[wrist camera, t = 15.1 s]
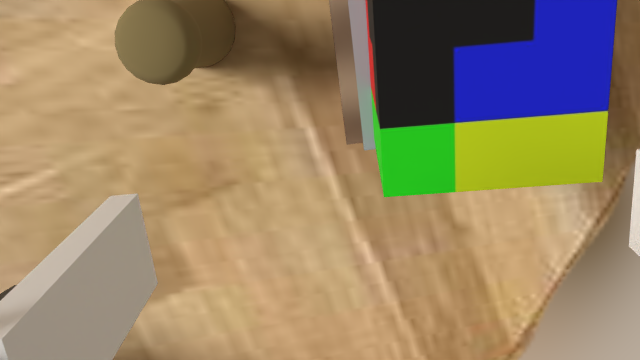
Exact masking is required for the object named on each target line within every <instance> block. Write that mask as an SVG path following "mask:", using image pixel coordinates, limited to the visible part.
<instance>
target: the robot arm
mask: <svg viewBox="0 0 640 360" xmlns="http://www.w3.org/2000/svg"><path fill="white" fill-rule="evenodd" d="M629 247H630V248H631V249H632V250H633V251H635V252H636V253H637V254H638V255H639V256H640V149H637V151H636V163H635V176H634V188H633V201H632V213H631V227H630V238H629ZM157 284H158V282H157V278H156V273H155V269H154V264H153V260H152V255H151V251H150V246H149V242H148V237H147V233H146V228H145V224H144V219H143V215H142V211H141V206H140V202H139V197H138V194H128V195H117V196H110V197H109V198H108V199H107V200H106V201H105V202H104V203H102V204H101V205H100V206H99V207H98V208H97V209H96V210H95V211H94V212H93V213H92V214H91V215H90V216H89V217H88V218H87V219H86V220H85V221H84V222H83V223H81V224H80V225H79V226H78V227H77V228H76V229H75V230H74V231H73V232H72V233H71V234H70V235H69V236H68V237H67V238H66V239H65V240H64V241H63V242H62V243H60V244H59V245H58V246H57V247H56V248H55V249H54V250H53V251H52V252H51V253H50V254H49V255H48V256H47V257H46V258H45V259H44V260H43V261H42V262H41V263H39V264H38V265H37V266H36V267H35V268H34V269H33V270H32V271H31V272H30V273H29V274H28V275H27V276H26V277H25V278H24V279H23V280H22V281H21V282H20V283H18V284H17V285H14V286H13V287H11V288H9V289H8V290H6V291H4V292H2V293H1V294H0V360H113V358H114V356H115V355H116V353H117V351H118V349H119V348H120V346H121V344H122V343H123V341H124V339H125V338H126V336H127V334H128V333H129V331H130V329H131V328H132V326H133V324H134V322H135V321H136V319H137V317H138V316H139V314H140V312H141V311H142V309H143V307H144V306H145V304H146V302H147V301H148V299H149V297H150V296H151V294H152V292H153V290H154V289H155V287H156V285H157Z"/></svg>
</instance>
